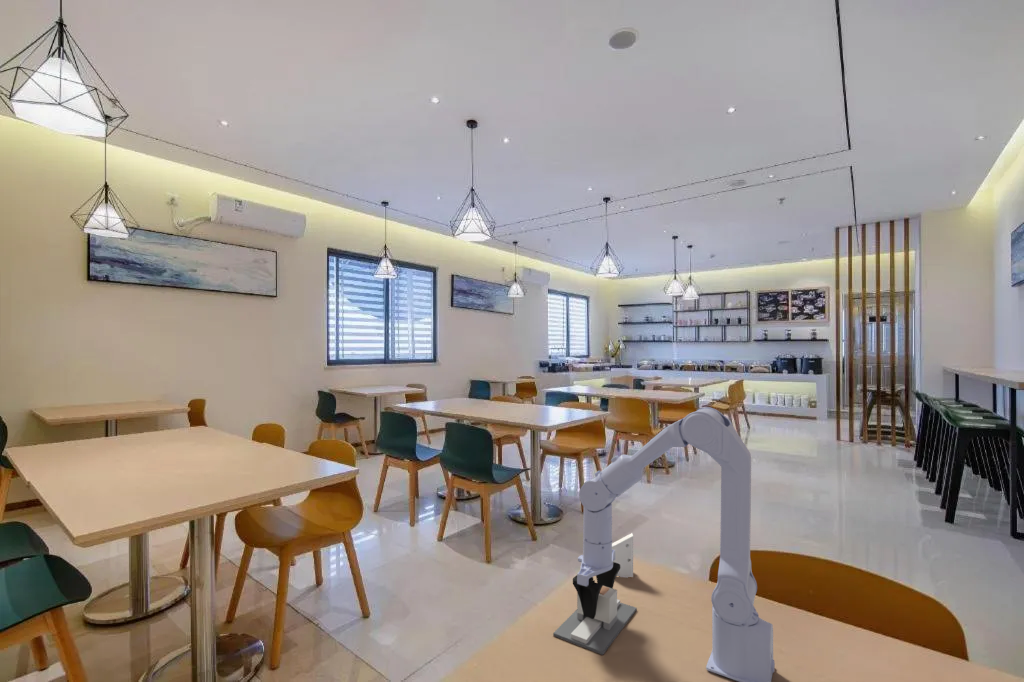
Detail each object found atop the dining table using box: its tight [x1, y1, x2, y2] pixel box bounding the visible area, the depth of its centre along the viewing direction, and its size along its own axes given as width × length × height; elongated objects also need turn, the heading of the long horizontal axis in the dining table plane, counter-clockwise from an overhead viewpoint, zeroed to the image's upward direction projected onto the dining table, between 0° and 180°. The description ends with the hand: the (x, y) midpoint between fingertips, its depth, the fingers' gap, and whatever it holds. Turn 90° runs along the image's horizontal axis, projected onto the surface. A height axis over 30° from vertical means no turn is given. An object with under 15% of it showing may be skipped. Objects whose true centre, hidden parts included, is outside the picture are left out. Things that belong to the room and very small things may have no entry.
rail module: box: [576, 586, 618, 630], centre depth 93 cm, size 7×4×6 cm, turn 56°
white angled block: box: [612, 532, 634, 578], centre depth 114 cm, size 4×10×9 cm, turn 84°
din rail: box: [552, 598, 638, 656], centre depth 93 cm, size 10×18×1 cm, turn 146°
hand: (597, 607), depth 93 cm, fingers open, 7 cm apart
